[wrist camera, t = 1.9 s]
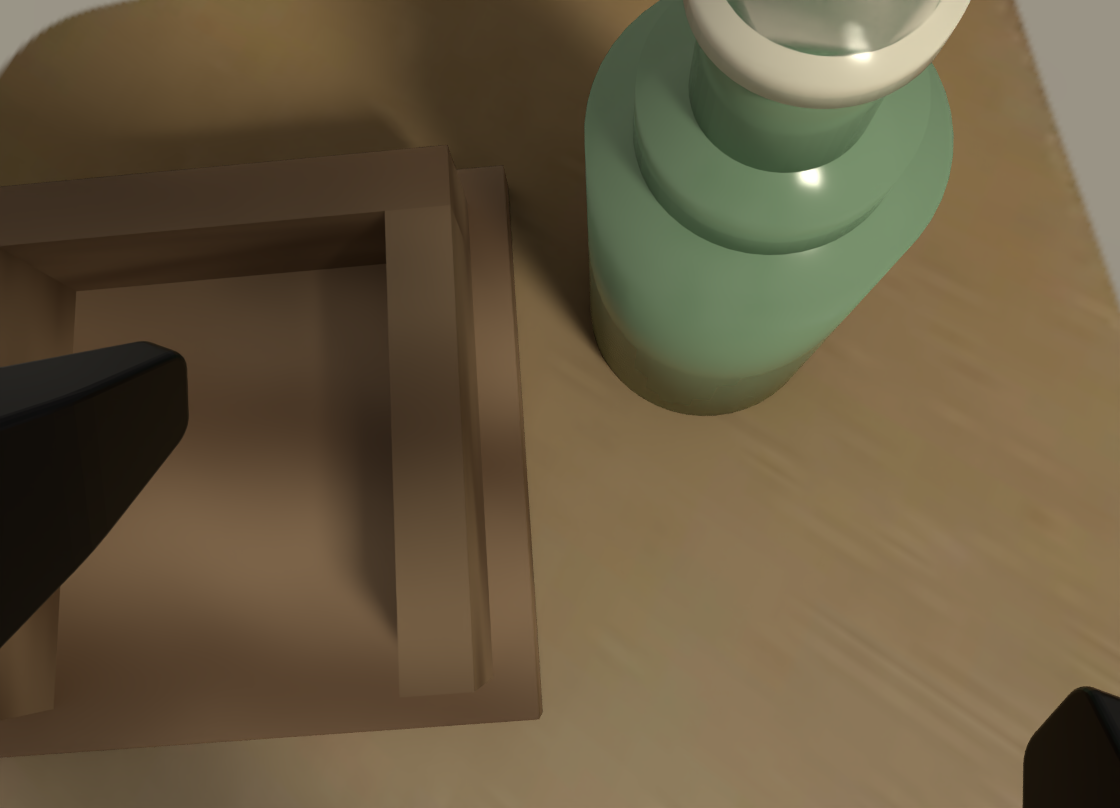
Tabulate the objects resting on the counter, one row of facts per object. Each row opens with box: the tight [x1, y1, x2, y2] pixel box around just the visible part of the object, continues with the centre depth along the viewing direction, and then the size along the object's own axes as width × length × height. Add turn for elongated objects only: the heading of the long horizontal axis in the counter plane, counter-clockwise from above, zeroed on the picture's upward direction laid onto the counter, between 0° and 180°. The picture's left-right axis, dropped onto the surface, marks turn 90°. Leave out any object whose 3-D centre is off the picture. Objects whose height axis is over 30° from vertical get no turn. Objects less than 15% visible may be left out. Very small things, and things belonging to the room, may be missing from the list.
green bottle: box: [584, 0, 970, 416], centre depth 16 cm, size 6×6×13 cm
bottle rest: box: [0, 145, 543, 758], centre depth 20 cm, size 14×14×4 cm
